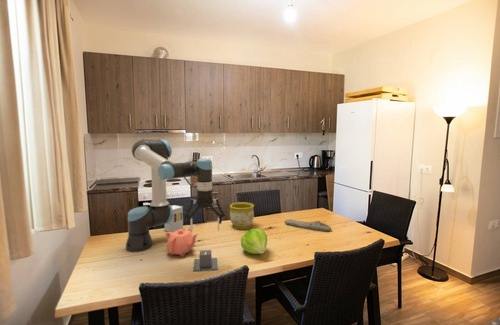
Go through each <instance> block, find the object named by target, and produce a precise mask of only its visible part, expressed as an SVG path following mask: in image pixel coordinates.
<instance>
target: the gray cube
mask: <svg viewBox="0 0 500 325" xmlns="http://www.w3.org/2000/svg"><path fill="white" fill-rule="evenodd" d="M212 258H213V257H212V249H204V250H203V249H202V250H199V259H200V267H206V266H212Z"/></svg>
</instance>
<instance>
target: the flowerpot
mask: <svg viewBox="0 0 500 325" xmlns="http://www.w3.org/2000/svg"><path fill="white" fill-rule="evenodd" d="M254 207H255V204H253V203H252V202H251V203H250V202H247V201H246V202H244V201H243V202H241V201H239V202H233V203H231V204H229V219H230V223H232V225H231V226H232V227H233V228H234V229H236V230H240V231H241V230H248V229H250V228H251V226H252V223H253V222H254V219H255V212H254Z"/></svg>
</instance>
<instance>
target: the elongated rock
mask: <svg viewBox="0 0 500 325" xmlns="http://www.w3.org/2000/svg"><path fill="white" fill-rule="evenodd" d="M284 224H285V225H287V226H288V225H289V226H291V227H296V228H300V229H308V230H310V231H311V230H313V231H319V232H330V231H331V230H332V227H331V226H330V225H328V224H326V223H323V222H322V221H320V220H316V221H311V222H310V221H309V222H307V221H301V220H296V219H295V220H294V219H285V221H284Z"/></svg>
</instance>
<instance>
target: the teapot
mask: <svg viewBox="0 0 500 325" xmlns="http://www.w3.org/2000/svg"><path fill="white" fill-rule="evenodd" d="M198 235H199V233H194V234H193V232H191V228H188V229H187V230H186V229H184V228H183V229H179V230H177V231H175V232H173V233H172V232H168V231H166V233H165V236H166V238H167V243H166V251H167V252H168V253H170V256H174V255H178V256H179V257H180V258H181V257H185V255H186V254H188V253H190V252H192V250H193V248H194V246H195V244H196V238H197V236H198Z"/></svg>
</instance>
